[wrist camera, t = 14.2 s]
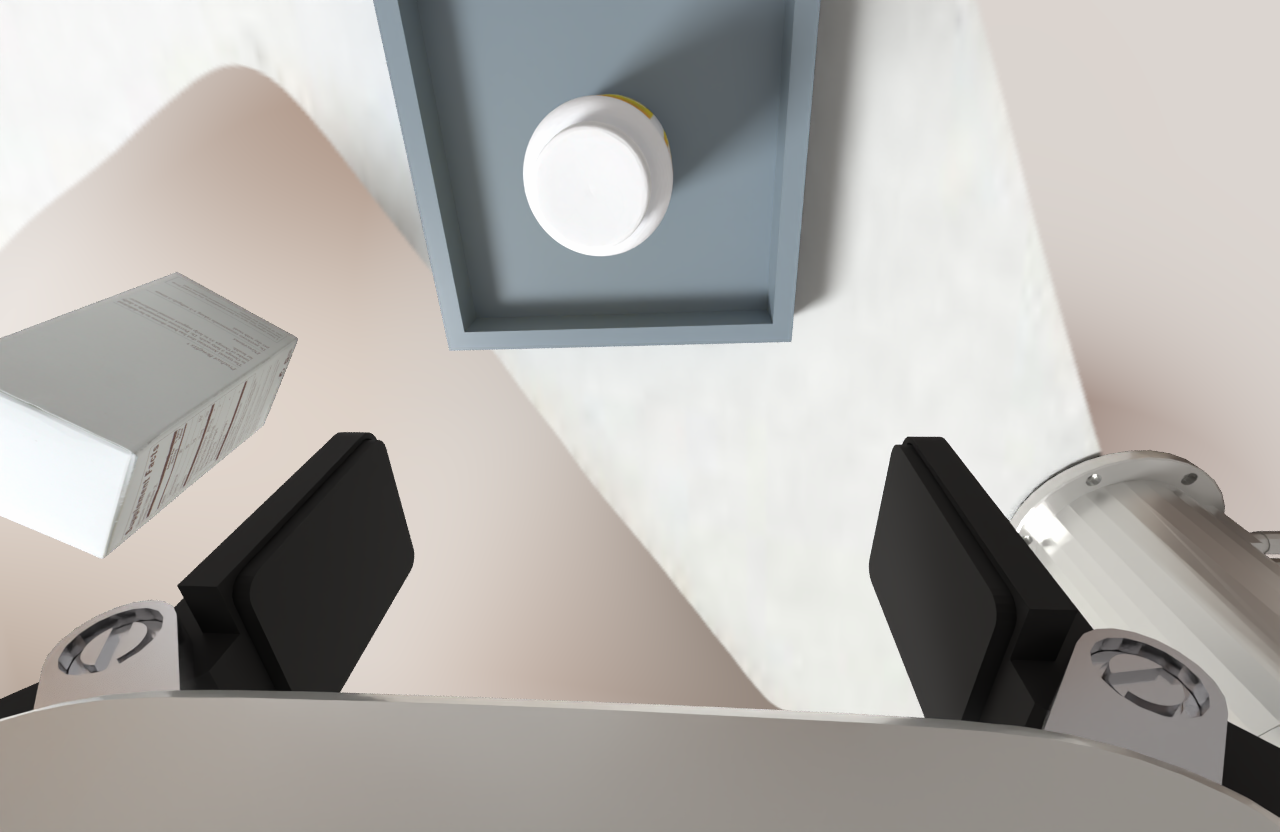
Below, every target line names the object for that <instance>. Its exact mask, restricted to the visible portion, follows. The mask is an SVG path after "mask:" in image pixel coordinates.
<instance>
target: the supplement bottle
mask: <svg viewBox="0 0 1280 832" xmlns="http://www.w3.org/2000/svg"><path fill="white" fill-rule="evenodd" d="M523 181H524V188H525V193H526V197H527V200H528V203H529V206H530V208H531V210H532V212H533V214H534V216H535V218H536V219H537V221H538V222H539V224H540V225H541V226H542V228H543V229H544V230H545V231H546V232H547V233H548V234H549V235H550V236H551V237H552V238H553V239H554V240H556V241H557V242H558V243H560V244H561V245H563V246H565V247H567V248H569V249H571V250H573V251H575V252H578V253H582V254H585V255H591V256H610V255H616V254H620V253H623V252H626V251H628V250H630V249H632V248H634V247H636V246H638V245H639V244H641V243H642V242H643V241H645V240H646V239H647V238H648V237H649V236H650V235H651V234H652V233H653V232H654V231H655V229H656V228H657V227H658V225H659V224H660V222H661V221H662V219H663V217H664V215H665V213H666V211H667V208H668V205H669V202H670V198H671V193H672V187H673V169H672V158H671V152H670V146H669V142H668V139H667V136H666V133H665V131H664V129H663V127H662V125H661V123H660V122H659V120H658V119H657V118H656V116H655V115H654V114H653V113H652V112H651V111H650V110H649V109H648V108H647V107H646V106H644V105H643V104H641V103H640V102H638V101H636V100H634V99H632V98H629V97H626V96H623V95H618V94H602V95H590V96H583V97H579V98H575V99H572V100H570V101H567V102H565V103H563V104H561V105H560V106H558V107H557V108H555V109H554V110H553V111H551V112H550V113H549V114H548V115H547V116H546V117H545V118H544V119H543V120H542V121H541V122H540V124H539V125H538V126H537V128H536V129H535V131H534V133H533V135H532V137H531V139H530V141H529V144H528V146H527V149H526V153H525V158H524V165H523Z"/></svg>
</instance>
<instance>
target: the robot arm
mask: <svg viewBox="0 0 1280 832" xmlns="http://www.w3.org/2000/svg"><path fill="white" fill-rule="evenodd" d="M1224 509H1225V505H1224V500H1223V496H1222V492H1221V490H1220V489H1219V487H1218V485H1217V484H1216V482H1215V481H1214V480H1213V479H1212V478H1211V477H1210V476H1209V475H1208V474H1207V473H1205V472H1204V471H1203V470H1201V469H1200V468H1198V467H1197V466H1195V465H1194V464H1192V463H1191V462H1189V461H1188V460H1186V459H1184V458H1181V457H1178V456H1175V455H1172V454H1170V453H1164V452H1157V451H1151V450H1148V451H1125V452H1119V453H1113V454H1107V455H1104V456H1100V457H1097V458H1094V459H1090V460H1087V461H1085V462H1082V463H1080V464H1078V465H1076V466H1073V467H1071V468H1069V469H1067V470H1065V471H1063V472H1061V473H1060V474H1058V475H1056V476H1055V477H1053V478H1051V479H1050V480H1048V481H1047V482H1046V483H1044V484H1043V485H1042V486H1041V487H1039V488H1038V489H1037V490H1036V491H1034V492H1033V493H1032V494H1031V495H1030V496H1029V497H1028V498H1027V500H1026V501H1025V502H1024V503H1023V504H1022V505H1021V506H1020V507H1019V509H1018V510H1017V512H1016V513H1015V515H1014V516H1013V518H1012V519H1011V521H1009V520H1008V519H1007V518H1006V517H1005V516H1004V514H1003V513H1002V512H1001V511H1000V509H999V508H998V507H997V505H996V504H995V503H994V502H993V500H992V499H991V498H990V496H989V495H988V494H987V493H986V491H985V490H984V489H983V487H982V486H981V485H980V484H979V482H978V481H977V480H976V478H975V477H974V476H973V475H972V473H971V472H970V471H969V469H968V468H967V467H966V466H965V464H964V463H963V462H962V460H961V459H960V458H959V457H958V455H957V454H956V453H955V451H954V450H953V449H952V448H951V446H950V445H949V444H948V443H947V441H946V440H945V439H944V438H943V437H907V438H905V440H904V442H903V444H902V445H895V446H894V447H893V449H892V453H891V457H890V462H889V467H888V472H887V477H886V482H885V486H884V491H883V496H882V501H881V506H880V511H879V516H878V521H877V526H876V530H875V535H874V540H873V545H872V550H871V555H870V560H869V573H870V579H871V582H872V584H873V587H874V590H875V592H876V595H877V597H878V600H879V602H880V605H881V607H882V610H883V612H884V615H885V617H886V620H887V623H888V625H889V628H890V630H891V633H892V635H893V638H894V640H895V643H896V645H897V648H898V650H899V653H900V656H901V658H902V661H903V663H904V666H905V668H906V671H907V673H908V676H909V678H910V681H911V683H912V686H913V689H914V691H915V694H916V696H917V699H918V701H919V704H920V706H921V709H922V711H923V714H924V717H925V718H916V717H900V716H883V715H867V714H851V713H832V712H810V711H789V710H767V709H744V708H743V709H742V708H722V707H701V706H678V705H656V704H631V703H607V702H583V701H558V700H557V701H555V700H531V699H507V698H480V697H453V696H451V697H450V696H424V695H395V694H394V695H393V694H365V693H340V691H341V690H342V688H343V686H344V685H345V683H346V681H347V679H348V678H349V676H350V674H351V672H352V671H353V669H354V667H355V666H356V664H357V662H358V660H359V659H360V657H361V655H362V654H363V652H364V650H365V648H366V647H367V645H368V643H369V641H370V640H371V638H372V636H373V635H374V633H375V631H376V629H377V628H378V626H379V624H380V623H381V621H382V619H383V617H384V616H385V614H386V612H387V610H388V609H389V607H390V605H391V604H392V602H393V600H394V598H395V596H396V595H397V593H398V591H399V590H400V588H401V586H402V585H403V583H404V581H405V579H406V578H407V576H408V574H409V573H410V571H411V568H412V566H413V562H414V549H413V545H412V542H411V538H410V534H409V531H408V527H407V524H406V519H405V516H404V512H403V509H402V505H401V501H400V497H399V494H398V490H397V487H396V483H395V479H394V475H393V472H392V468H391V464H390V461H389V457H388V453H387V450H386V447H385V444H384V443H383V442H382V441H380V440H377V439H376V437H375V436H374V435H373V434H371V433H363V432H362V433H360V432H353V433H352V432H341V433H337V434H336V435H334V436H333V437H332V438H331V439H330V440H329V441H328V442H327V443H326V444H325V445H324V446H323V447H322V448H321V449H320V450H319V451H318V452H317V453H315V454H314V455H313V456H312V457H311V458H310V459H309V460H308V461H307V462H306V463H305V464H304V465H303V466H302V467H301V468H300V469H299V470H298V471H297V472H296V473H295V474H293V476H291V477H290V478H289V479H288V480H287V481H286V482H285V483H284V484H283V485H282V486H281V487H280V488H279V489H278V490H277V491H276V492H275V493H274V494H273V495H272V496H270V497H269V498H268V499H267V500H266V501H265V502H264V503H263V504H262V505H261V506H260V507H259V508H258V509H257V510H256V511H255V512H254V513H253V514H252V515H251V516H250V517H248V518H247V519H246V520H245V521H244V522H243V523H242V524H241V525H240V526H239V527H238V528H237V529H236V530H235V531H234V532H233V533H232V534H231V535H230V536H229V537H228V538H227V539H225V540H224V541H223V542H222V543H221V544H220V545H219V546H218V547H217V548H216V549H215V550H214V551H213V552H212V553H211V554H210V555H209V556H208V557H207V558H206V559H205V560H204V561H202V562H201V563H200V564H199V565H198V566H197V567H196V568H195V569H194V570H193V571H192V572H191V573H190V574H189V575H188V576H187V577H186V578H185V579H184V580H183V581H182V582H181V583H179V584H178V588H179V590H180V591H181V593H182V595H183V597H184V598H183V599H182V600H181V601H180V602H179V603H178V604H177V606H175V607H173V606H172V605H170V604H168V603H166V602H164V601H155V600H147V601H140V602H133V603H130V604H127V605H123V606H120V607H117V608H114V609H112V610H109V611H107V612H105V613H103V614H101V615H98V616H96V617H94V618H92V619H91V620H89V621H87V622H86V623H84V624H82V625H81V626H79V627H77V628H76V629H74V630H73V631H72V632H71V633H70V634H68V635H67V636H66V637H64V638H63V639H62V640H61V641H60V642H59V643H58V644H57V645H56V646H55V647H54V648H53V650H52V651H51V652H50V653H49V654H48V656H47V658H46V660H45V662H44V664H43V667H42V671H41V676H40V680H39V682H38V683H36V684H34V685H31V686H29V687H27V688H24V689H22V690H20V691H18V692H15V693H13V694H11V695H9V696H6V697H4V698H2V699H0V832H1280V559H1279V558H1269V557H1268V556H1266V555H1265V554H1280V531H1257V532H1252V533H1249V532H1248V531H1246V530H1245V529H1243V528H1242V527H1241V526H1240V525H1238V524H1237V523H1235V522H1234V521H1233V520H1232V519H1230V518H1229V517H1228V516H1226V515H1225V514H1224Z"/></svg>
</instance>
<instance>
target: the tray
mask: <svg viewBox="0 0 1280 832" xmlns="http://www.w3.org/2000/svg"><path fill="white" fill-rule="evenodd" d="M373 2H374V6H375V11H376V15H377V20H378V25H379V29H380V34H381V38H382V43H383V48H384V52H385V57H386V61H387V66H388V71H389V75H390V80H391V84H392V89H393V93H394V98H395V103H396V107H397V112H398V116H399V121H400V126H401V130H402V135H403V139H404V144H405V149H406V153H407V158H408V162H409V167H410V171H411V176H412V181H413V185H414V190H415V194H416V199H417V204H418V208H419V213H420V217H421V222H422V227H423V231H424V236H425V240H426V245H427V249H428V254H429V259H430V263H431V268H432V272H433V277H434V281H435V286H436V291H437V295H438V300H439V305H440V309H441V313H442V318H443V323H444V327H445V332H446V337H447V341H448V345H449V350H488V349H489V350H490V349H529V348H568V347H606V346H645V345H684V344H723V343H762V342H791V340H792V328H793V317H794V305H795V293H796V281H797V270H798V258H799V246H800V235H801V223H802V211H803V199H804V188H805V176H806V164H807V153H808V141H809V129H810V117H811V106H812V94H813V82H814V70H815V59H816V47H817V35H818V24H819V12H820V0H373ZM602 94H618V95H623V96H626V97H629V98H632V99H634V100H636V101H638V102H640V103H641V104H643V105H644V106H646V107H647V108H648V109H649V110H650V111H651V112H652V113H653V114H654V115H655V116H656V118H657V119H658V120H659V122H660V123H661V125H662V127H663V129H664V131H665V133H666V136H667V139H668V142H669V146H670V152H671V158H672V169H673V187H672V193H671V198H670V202H669V205H668V208H667V211H666V213H665V215H664V217H663V219H662V221H661V222H660V224H659V225H658V227H657V228H656V229H655V231H654V232H653V233H652V234H651V235H650V236H649V237H648V238H647V239H646V240H645V241H643V242H642V243H641V244H639V245H638V246H636V247H634V248H632V249H630V250H628V251H626V252H623V253H620V254H616V255H610V256H591V255H585V254H582V253H578V252H575V251H573V250H571V249H569V248H567V247H565V246H563V245H561V244H560V243H558V242H557V241H556V240H554V239H553V238H552V237H551V236H550V235H549V234H548V233H547V232H546V231H545V230H544V229H543V228H542V226H541V225H540V224H539V222H538V221H537V219H536V218H535V216H534V214H533V212H532V210H531V208H530V206H529V203H528V200H527V197H526V193H525V188H524V181H523V165H524V158H525V153H526V149H527V146H528V144H529V141H530V139H531V137H532V135H533V133H534V131H535V129H536V128H537V126H538V125H539V124H540V122H541V121H542V120H543V119H544V118H545V117H546V116H547V115H548V114H549V113H550V112H551V111H553V110H554V109H555V108H557V107H558V106H560V105H561V104H563V103H565V102H567V101H570V100H572V99H575V98H579V97H583V96H590V95H602Z"/></svg>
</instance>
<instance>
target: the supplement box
mask: <svg viewBox="0 0 1280 832" xmlns="http://www.w3.org/2000/svg"><path fill="white" fill-rule="evenodd" d="M297 340H298V338H297V337H295V336H293V335H292V334H290V333H288V332H286V331H284V330H282V329H280V328H279V327H277V326H275V325H273V324H271V323H269V322H268V321H265V320H264V319H262V318H260V317H258V316H256V315H255V314H253V313H251V312H249V311H247V310H246V309H244V308H242V307H240V306H238V305H236V304H235V303H233V302H231V301H229V300H227V299H225V298H224V297H222V296H220V295H218V294H216V293H214V292H213V291H211V290H209V289H207V288H205V287H204V286H202V285H200V284H198V283H196V282H194V281H193V280H191V279H189V278H187V277H185V276H184V275H182V274H180V273H178V272H176V273H173V274H171V275H168V276H165V277H163V278H160V279H157V280H154V281H152V282H149V283H146V284H144V285H141V286H139V287H136V288H133V289H131V290H128V291H125V292H123V293H120V294H117V295H115V296H112V297H109V298H107V299H104V300H101V301H98V302H96V303H93V304H90V305H88V306H85V307H83V308H80V309H77V310H74V311H72V312H69V313H66V314H64V315H61V316H58V317H56V318H53V319H51V320H48V321H45V322H43V323H40V324H37V325H35V326H32V327H29V328H27V329H24V330H21V331H19V332H16V333H14V334H11V335H8V336H5V337H2V338H0V516H2V517H5V518H7V519H10V520H12V521H14V522H17V523H19V524H21V525H24V526H26V527H28V528H31V529H33V530H36V531H38V532H40V533H43V534H45V535H48V536H50V537H52V538H55V539H57V540H60V541H62V542H64V543H67V544H69V545H72V546H74V547H76V548H78V549H81V550H83V551H85V552H88V553H90V554H92V555H94V556H97V557H99V558H105V557H106V556H107V555H108V554H109V553H111V552H112V551H113V550H114V549H116V548H117V547H118V546H119V545H120V544H122V543H123V542H124V541H125V540H126V539H127V538H129V537H130V536H131V535H132V534H133V533H135V532H136V531H137V530H138V529H139V528H141V527H142V526H143V525H144V524H145V523H147V522H148V521H149V520H150V519H151V518H153V517H154V516H155V515H156V514H157V513H159V512H160V511H161V510H162V509H163V508H164V507H166V506H167V505H168V504H169V503H170V502H172V501H173V500H174V499H175V498H176V497H177V496H179V495H180V494H181V493H182V492H183V491H184V490H186V489H187V488H188V487H189V486H190V485H192V484H193V483H194V482H196V481H197V480H198V479H199V478H200V477H201V476H203V475H204V474H205V473H206V472H208V471H209V470H210V469H211V468H212V467H214V466H215V465H216V464H217V463H218V462H220V461H221V460H222V459H223V458H225V457H226V456H227V455H228V454H229V453H230V452H232V451H233V450H234V449H235V448H237V447H238V446H239V445H240V444H242V443H243V442H244V441H245V440H246V439H248V438H249V437H250V436H251V435H253V434H254V433H255V432H256V431H257V430H258V429H259V428H261V427H262V426H263V425H264V423H265V421H266V418H267V416H268V413H269V411H270V408H271V406H272V403H273V401H274V399H275V396H276V393H277V391H278V388H279V386H280V384H281V381H282V379H283V376H284V373H285V371H286V369H287V366H288V364H289V361H290V359H291V356H292V353H293V351H294V348H295V346H296V343H297Z"/></svg>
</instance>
